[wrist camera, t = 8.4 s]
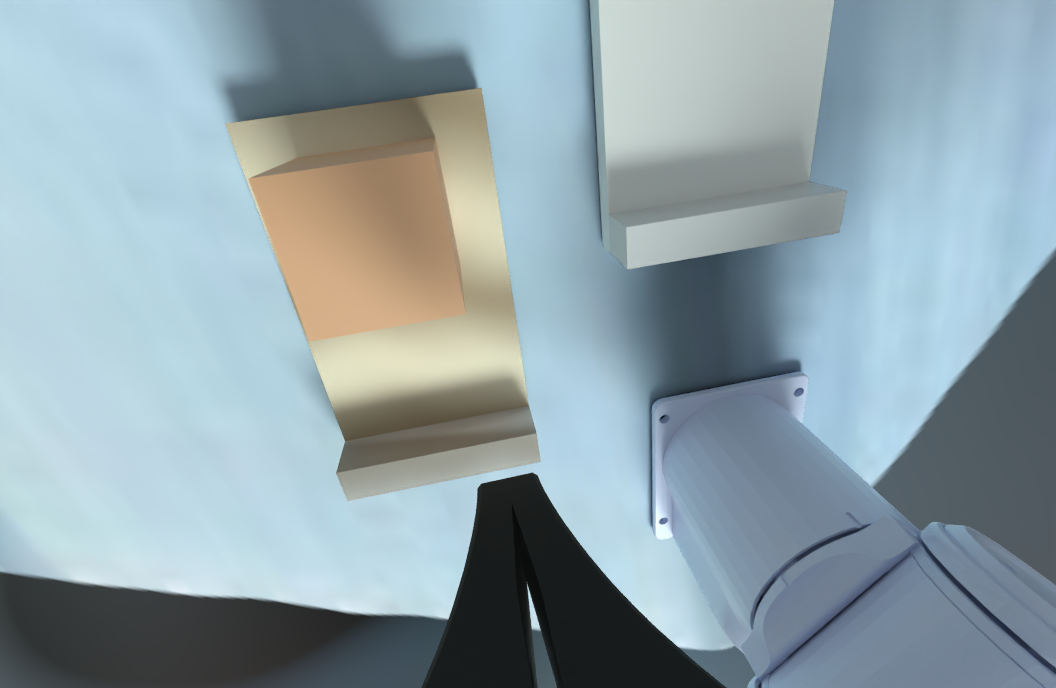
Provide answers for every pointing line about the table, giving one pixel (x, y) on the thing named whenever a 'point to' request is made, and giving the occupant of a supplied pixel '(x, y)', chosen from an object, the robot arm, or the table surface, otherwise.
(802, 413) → the robot arm
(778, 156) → the grey strip
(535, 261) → the table surface
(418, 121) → the beige lipped tray
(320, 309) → the block
